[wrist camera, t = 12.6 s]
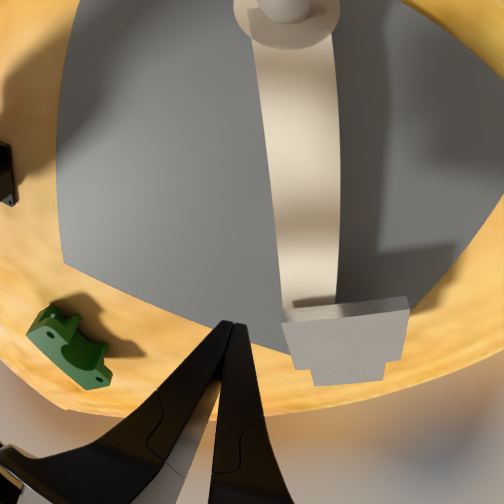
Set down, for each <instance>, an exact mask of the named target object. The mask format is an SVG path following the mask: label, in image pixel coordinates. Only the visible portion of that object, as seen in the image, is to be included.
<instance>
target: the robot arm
mask: <svg viewBox="0 0 504 504" xmlns="http://www.w3.org/2000/svg"><path fill="white" fill-rule="evenodd" d="M1 202H3V203H5V204H7V205H9V206H10V207H13V206H14V205H15V204H16V200H15V193H14V185H13V175H12V163H11V149H10V146H9V145H8V144H5V143H2V142H0V203H1ZM219 391H220V398H219V407H218V416H217V425H216V434H215V444H214V454H213V464H212V475H211V482H210V492H209V498H208V504H295V503H294V502H293V500H292V498H291V496H290V494H289V491H288V489H287V487H286V484H285V482H284V479H283V476H282V474H281V471H280V469H279V466H278V463H277V461H276V458H275V456H274V452H273V449H272V446H271V443H270V440H269V435H268V431H267V427H266V422H265V417H264V416H263V415H264V412H263V407H262V402H261V397H260V392H259V386H258V381H257V376H256V371H255V365H254V360H253V355H252V349H251V344H250V338H249V333H248V327H247V325H246V324H243V323H238V322H236V323H234V322H232V321H228V320H221V321H220V322H219V323H218V324H217V325H216V327H215V328H214V329H213V330H212V331H211V332H210V333H209V334H208V335H207V336H206V337H205V338H204V340H203V341H202V342H201V343H200V344H199V345H198V346H197V347H196V348H195V349H194V350H193V351H192V352H191V353H190V355H189V356H188V357H187V358H186V359H185V360H184V361H183V362H182V363H181V364H180V365H179V366H178V367H177V368H176V369H175V370H174V371H173V373H172V374H171V375H170V376H169V377H168V378H167V379H166V380H165V381H164V382H163V383H162V384H161V385H160V386H159V387H158V388H157V390H155V391H154V392H153V393H152V394H151V395H150V396H149V397H148V398H147V399H146V400H145V401H144V402H143V403H142V404H141V405H140V406H139V407H138V408H137V409H136V410H135V411H133V412H132V413H131V414H130V415H129V416H127V417H126V418H125V419H124V420H122V421H121V422H120V423H118V424H117V425H116V426H114V427H113V428H112V429H111V430H109V431H108V432H107V433H105V434H104V435H103V436H101V437H100V438H98V439H97V440H95V441H94V442H92V443H90V444H88V445H85V446H82V447H79V448H76V449H73V450H69V451H66V452H62V453H59V454H55V455H51V456H48V457H44V458H37V457H35V456H33V455H31V454H29V453H27V452H26V451H24V450H22V449H20V448H19V447H17V446H15V445H13V444H8V445H5V444H3V443H2V442H1V441H0V504H175V503H176V501H177V499H178V496H179V494H180V491H181V489H182V486H183V484H184V481H185V480H184V479H186V476H187V474H188V471H189V469H190V466H191V463H192V461H193V459H194V456H195V453H196V451H197V448H198V446H199V443H200V441H201V438H202V435H203V433H204V431H205V428H206V425H207V423H208V420H209V418H210V415H211V412H212V410H213V407H214V405H215V402H216V399H217V397H218V394H219Z"/></svg>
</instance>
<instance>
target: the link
mask: <svg viewBox="0 0 504 504" xmlns="http://www.w3.org/2000/svg"><path fill="white" fill-rule="evenodd" d="M233 8H234V14H235V18H236V20H237V22H238V24H239V26H240V27H241V28H242V30H243V31H244V32H245V33H246V34H247V35H248V36H249V37H250V38H251V39H252V46H253V53H254V60H255V67H256V74H257V81H258V88H259V95H260V103H261V110H262V118H263V125H264V133H265V141H266V150H267V158H268V166H269V175H270V184H271V192H272V201H273V211H274V220H275V230H276V240H277V250H278V260H279V270H280V281H281V292H282V304H283V309H292V308H304V307H315V306H325V305H335V296H336V283H337V269H338V252H339V230H340V135H339V113H338V97H337V84H336V72H335V62H334V53H333V44H332V36H331V33H332V31H333V30H334V29H335V27H336V25H337V23H338V21H339V17H340V2H339V0H234V3H233Z"/></svg>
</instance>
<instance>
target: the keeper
mask: <svg viewBox="0 0 504 504" xmlns="http://www.w3.org/2000/svg"><path fill="white" fill-rule="evenodd" d="M409 313H410V307H409V303H408V299H407V296H400V297H393V298H385V299H378V300H370V301H362V302H353V303H344V304H335V305H325V306H315V307H304V308H292V309H283V310H282V317H281V325H282V328H283V332H284V335H285V338H286V341H287V344H288V348H289V351H290V354H291V357H292V360H293V364H294V367H295V370H307V369H310V370H311V374H312V379H313V383H314V386H327V385H341V384H352V383H362V382H371V381H379V380H383V375H384V369H385V363H386V362H391V361H398V360H400V359H401V354H402V350H403V345H404V340H405V335H406V330H407V325H408V319H409Z"/></svg>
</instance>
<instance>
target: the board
mask: <svg viewBox="0 0 504 504" xmlns="http://www.w3.org/2000/svg"><path fill="white" fill-rule="evenodd" d="M339 2H340V17H339V21H338V23H337V25H336V27H335V29H334V30H333V31H332V33H331V36H332V44H333V53H334V62H335V72H336V84H337V97H338V113H339V135H340V230H339V252H338V269H337V283H336V296H335V304H344V303H353V302H362V301H370V300H378V299H385V298H393V297H400V296H407V299H408V303H409V307H410V311H411V310H412V309H413V308H414V307H415V306H416V305H417V304H418V303H419V302H420V301H421V300H422V299H423V298H424V297H425V296H426V294H427V293H428V292H429V291H430V290H431V289H432V288H433V287H434V286H435V284H436V283H437V282H438V281H439V280H440V279H441V278H442V276H443V275H444V274H445V273H446V272H447V271H448V269H449V268H450V267H451V266H452V265H453V263H454V262H455V261H456V260H457V258H458V257H459V256H460V255H461V253H462V252H463V251H464V250H465V248H466V247H467V246H468V244H469V243H470V242H471V240H472V239H473V238H474V236H475V235H476V234H477V232H478V231H479V230H480V228H481V227H482V225H483V224H484V223H485V221H486V220H487V218H488V217H489V215H490V214H491V212H492V211H493V209H494V208H495V206H496V205H497V203H498V202H499V200H500V199H501V197H502V195H503V194H504V81H503V80H502V79H501V78H500V77H499V76H498V75H497V74H496V73H495V72H494V71H493V70H492V69H491V68H490V67H489V66H488V65H487V64H486V63H485V62H483V61H482V60H481V59H480V58H479V57H478V56H477V55H476V54H474V53H473V52H472V51H471V50H470V49H469V48H467V47H466V46H465V45H464V44H462V43H461V42H460V41H459V40H457V39H456V38H455V37H454V36H452V35H451V34H450V33H448V32H447V31H446V30H444V29H443V28H441V27H440V26H439V25H437V24H436V23H434V22H433V21H431V20H430V19H428V18H427V17H425V16H424V15H422V14H421V13H419V12H418V11H416V10H414V9H413V8H411V7H409V6H408V5H406V4H404V3H403V2H401V1H399V0H339ZM233 3H234V0H80V2H79V5H78V9H77V12H76V16H75V19H74V23H73V27H72V31H71V35H70V39H69V44H68V49H67V54H66V59H65V64H64V70H63V77H62V84H61V91H60V100H59V110H58V123H57V143H56V184H57V204H58V218H59V228H60V237H61V245H62V253H63V260H64V263H65V264H67V265H69V266H71V267H73V268H75V269H77V270H79V271H81V272H83V273H85V274H87V275H89V276H91V277H93V278H95V279H97V280H99V281H101V282H103V283H105V284H107V285H109V286H112V287H114V288H116V289H118V290H120V291H122V292H124V293H127V294H129V295H131V296H133V297H136V298H138V299H140V300H142V301H145V302H147V303H149V304H152V305H154V306H156V307H159V308H161V309H164V310H166V311H168V312H171V313H173V314H176V315H178V316H181V317H183V318H186V319H188V320H191V321H193V322H196V323H199V324H201V325H204V326H206V327H209V328H212V329H214V328H215V327H216V325H217V324H218V323H219V322H220V321H221V320H228V321H232V322H234V323H236V322H238V323H243V324H246V325H247V327H248V333H249V338H250V342H251V343H254V344H257V345H260V346H263V347H266V348H269V349H273V350H276V351H279V352H282V353H285V354H289V355H291V354H290V351H289V348H288V344H287V341H286V338H285V335H284V332H283V328H282V325H281V317H282V310H283V304H282V292H281V281H280V270H279V260H278V250H277V240H276V230H275V220H274V211H273V201H272V192H271V184H270V175H269V166H268V158H267V150H266V141H265V133H264V125H263V118H262V110H261V103H260V95H259V88H258V81H257V74H256V67H255V60H254V53H253V46H252V39H251V38H250V37H249V36H248V35H247V34H246V33H245V32H244V31H243V30H242V28H241V27H240V26H239V24H238V22H237V20H236V18H235V14H234V8H233Z"/></svg>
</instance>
